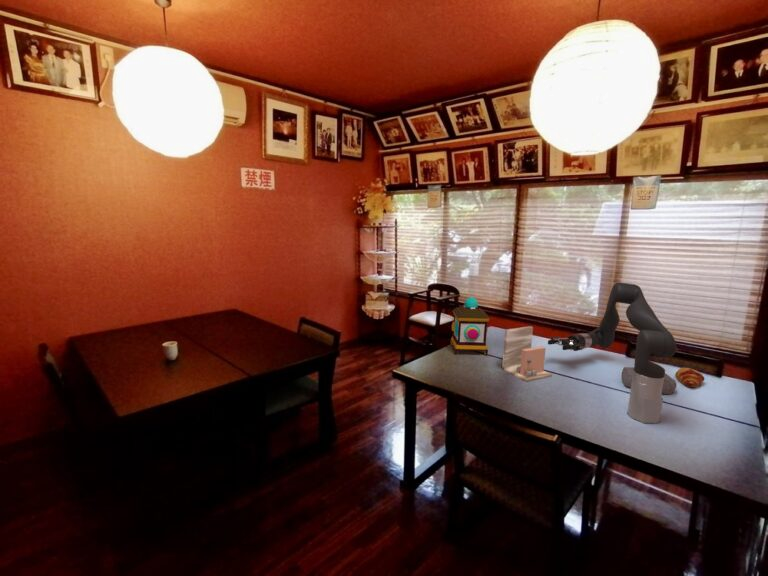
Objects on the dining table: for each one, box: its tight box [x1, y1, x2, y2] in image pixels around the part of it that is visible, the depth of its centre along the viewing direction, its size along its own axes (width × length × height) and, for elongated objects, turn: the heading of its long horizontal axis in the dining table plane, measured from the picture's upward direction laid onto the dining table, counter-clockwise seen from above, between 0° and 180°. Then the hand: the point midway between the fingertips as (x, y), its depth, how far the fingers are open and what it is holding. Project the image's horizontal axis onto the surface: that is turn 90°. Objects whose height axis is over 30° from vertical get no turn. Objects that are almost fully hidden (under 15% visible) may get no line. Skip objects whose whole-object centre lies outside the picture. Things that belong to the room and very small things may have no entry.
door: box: [520, 345, 546, 376], centre depth 173 cm, size 3×12×12 cm, turn 114°
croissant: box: [675, 366, 705, 388], centre depth 171 cm, size 21×10×8 cm, turn 146°
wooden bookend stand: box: [501, 326, 553, 383], centre depth 175 cm, size 16×16×20 cm
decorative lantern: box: [450, 296, 490, 356], centre depth 204 cm, size 20×20×30 cm
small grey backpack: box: [620, 366, 677, 395], centre depth 164 cm, size 15×8×20 cm
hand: (555, 345), depth 178 cm, fingers open, 8 cm apart
